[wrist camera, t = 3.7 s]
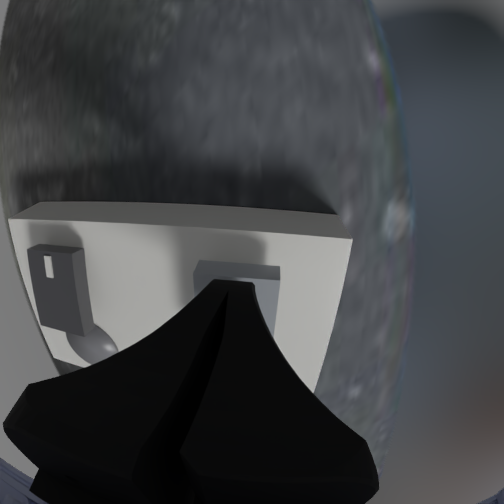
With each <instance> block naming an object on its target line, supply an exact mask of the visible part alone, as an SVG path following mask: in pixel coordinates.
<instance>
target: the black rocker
mask: <svg viewBox="0 0 504 504" xmlns="http://www.w3.org/2000/svg"><path fill="white" fill-rule="evenodd" d="M27 255H28V263H29V270H30V276H31V282H32V287H33V293H34V298H35V302H36V307H37V311H38V316H39V320H40V324H41V325H42V326H46V327H49V328H52V329H56V330H60V331H63V332H67V333H71V334H74V335H78V336H82V337H85V336H86V335H87V334H88V333H89V332H90V331H91V330H93V329H94V328H95V326H94V321H93V315H92V309H91V302H90V296H89V288H88V281H87V272H86V263H85V252H84V248H79V247H68V246H58V245H47V244H37V245H35V246H33V247H30V248H28V249H27Z"/></svg>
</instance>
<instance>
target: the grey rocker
mask: <svg viewBox="0 0 504 504" xmlns="http://www.w3.org/2000/svg"><path fill="white" fill-rule="evenodd" d="M213 279H222V280H233V281H245V282H253V284H254V285H255V292H256V297H257V300H258V304H259V307H260V310H261V312H262V315H263V317H264V319H265V322H266V324H267V326H268V328H269V331H270V333H271V334H272V336H273V338H274V330H275V322H276V314H277V306H278V297H279V289H280V266H272V265H259V264H246V263H233V262H221V261H208V260H199V262H198V264H197V266H196V268H195V270H194V272H193V283H194V297H195V296H197V295H198V294H199V293H200V292H201V291H202V290H203V289H204V288H205V287H206V286H207V285H208V284H209V283H210V282H211V281H212V280H213Z"/></svg>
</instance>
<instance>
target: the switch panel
mask: <svg viewBox="0 0 504 504" xmlns="http://www.w3.org/2000/svg"><path fill="white" fill-rule="evenodd" d="M8 221H9V225H10V230H11V235H12V239H13V243H14V247H15V251H16V255H17V259H18V263H19V266H20V270H21V273H22V276H23V280H24V283H25V286H26V289H27V292H28V295H29V298H30V301H31V304H32V307H33V309H34V312H35V315H36V317H37V320H38V322H39V325H40V327H41V330H42V332H43V335H44V337H45V339H46V342H47V344H48V346H49V348H50V351H51V353H52V355H53V357H54V358H56V359H59V360H62V361H65V362H68V363H71V364H74V365H78V366H81V367H84V368H85V367H88V366H90V365H92V364H95V363H97V362H99V361H102V360H104V359H106V358H108V357H110V356H112V355H114V354H116V353H118V352H120V351H122V350H124V349H126V348H128V347H129V346H131V345H133V344H135V343H136V342H138V341H140V340H141V339H143V338H144V337H146V336H148V335H149V334H151V333H152V332H154V331H155V330H156V329H158V328H159V327H160V326H162V325H163V324H164V323H165V322H167V321H168V320H169V319H170V318H172V317H173V316H174V315H176V314H177V313H178V312H179V311H180V310H181V309H182V308H184V307H185V306H186V305H187V304H188V303H189V302H190V301H191V300H192V299H193V298H194V283H193V272H194V270H195V268H196V266H197V264H198V262H199V260H208V261H221V262H233V263H246V264H259V265H272V266H280V289H279V297H278V306H277V314H276V322H275V330H274V340H275V342H276V344H277V345H278V347H279V349H280V351H281V352H282V354H283V355H284V357H285V358H286V360H287V361H288V363H289V364H290V366H291V367H292V368H293V370H294V371H295V372H296V374H297V375H298V376H299V378H300V379H301V380H302V381H303V382H304V383H305V385H306V386H307V387H308V388H309V389H310V390H311V391H312V393H314V390H315V387H316V384H317V381H318V377H319V374H320V371H321V368H322V364H323V361H324V357H325V354H326V350H327V347H328V343H329V340H330V336H331V332H332V328H333V325H334V321H335V317H336V313H337V309H338V305H339V301H340V296H341V292H342V288H343V283H344V279H345V274H346V270H347V265H348V260H349V255H350V250H351V245H352V240H353V239H352V237H351V236H350V234H349V232H348V231H347V229H346V227H345V226H344V224H343V222H342V221H341V219H340V217H339V216H338V215H333V214H323V213H312V212H301V211H289V210H277V209H263V208H249V207H234V206H217V205H197V204H175V203H146V202H90V201H63V202H39V203H37V204H35V205H33V206H31V207H29V208H27V209H25V210H23V211H22V212H20V213H18V214H16V215H14V216H12V217H11V218H9V219H8ZM37 244H47V245H58V246H68V247H79V248H84V252H85V263H86V272H87V281H88V288H89V296H90V302H91V309H92V315H93V321H94V326H95V328H94V329H93V330H91V331H90V332H89V333H88V334H87V335H86V336H85V337H82V336H78V335H74V334H71V333H67V332H63V331H60V330H56V329H52V328H49V327H46V326H42V325H41V324H40V320H39V316H38V311H37V307H36V302H35V298H34V293H33V287H32V282H31V276H30V270H29V263H28V255H27V249H28V248H30V247H33V246H35V245H37Z"/></svg>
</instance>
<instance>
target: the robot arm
mask: <svg viewBox="0 0 504 504" xmlns="http://www.w3.org/2000/svg"><path fill="white" fill-rule="evenodd" d="M3 427H4V432H5V433H6V435H7V436H8V438H9V439H10V440H11V441H12V442H13V443H14V445H15V446H16V447H17V448H18V449H19V450H20V451H21V452H22V453H23V454H24V455H25V456H26V457H27V458H28V459H29V460H30V461H31V462H32V463H33V464H35V465H36V466H37V467H38V468H39V470H38V472H37V474H36V476H35V478H34V479H32V478H31V477H29V476H27V475H26V474H24V473H22V472H21V471H19V470H18V469H16V468H15V467H13V466H11V465H10V464H8V463H7V462H6V461H4V460H3V459H1V458H0V504H365V503H366V502H367V501H368V500H370V499H371V498H372V497H373V496H374V495H375V494H376V492H377V491H378V490H379V480H378V474H377V469H376V466H375V463H374V460H373V457H372V454H371V452H370V449H369V447H368V444H367V442H366V440H365V439H363V438H362V437H361V436H359V435H358V434H357V433H356V432H354V431H353V430H352V429H350V428H349V427H348V426H347V425H345V424H344V423H343V422H342V421H341V420H340V419H338V418H337V417H336V416H335V415H334V414H333V413H332V412H331V411H330V410H329V409H328V408H327V407H326V406H325V405H324V404H323V403H322V402H321V401H320V400H319V399H318V398H317V397H316V396H315V395H314V394H313V393H312V391H311V390H310V389H309V388H308V387H307V386H306V385H305V383H304V382H303V381H302V380H301V379H300V378H299V376H298V375H297V374H296V372H295V371H294V370H293V368H292V367H291V366H290V364H289V363H288V361H287V360H286V358H285V357H284V355H283V354H282V352H281V351H280V349H279V347H278V345H277V344H276V342H275V340H274V338H273V336H272V334H271V333H270V331H269V328H268V326H267V324H266V322H265V319H264V317H263V315H262V312H261V310H260V307H259V304H258V300H257V297H256V292H255V285H254V284H253V282H245V281H233V280H222V279H213V280H212V281H211V282H210V283H209V284H208V285H207V286H206V287H205V288H204V289H203V290H202V291H201V292H200V293H199V294H198V295H197V296H195V297H194V298H193V299H192V300H191V301H190V302H189V303H188V304H187V305H186V306H185V307H184V308H182V309H181V310H180V311H179V312H178V313H177V314H176V315H174V316H173V317H172V318H170V319H169V320H168V321H167V322H165V323H164V324H163V325H162V326H160V327H159V328H158V329H156V330H155V331H154V332H152V333H151V334H149V335H148V336H146V337H144V338H143V339H141V340H140V341H138V342H136V343H135V344H133V345H131V346H129V347H128V348H126V349H124V350H122V351H120V352H118V353H116V354H114V355H112V356H110V357H108V358H106V359H104V360H102V361H99V362H97V363H95V364H92V365H90V366H88V367H85V368H82V369H80V370H77V371H74V372H71V373H68V374H65V375H62V376H58V377H55V378H51V379H47V380H44V381H40V382H36V383H31V384H29V385H28V386H27V387H26V389H25V390H24V392H23V393H22V395H21V396H20V398H19V399H18V401H17V402H16V404H15V405H14V407H13V408H12V410H11V411H10V413H9V414H8V416H7V418H6V419H5V421H4V422H3ZM477 504H504V488H503V489H502V490H500V491H499V492H498V493H497V494H496V495H494V496H492V497H490V498H488V499H486V500H484V501H482V502H480V503H477Z"/></svg>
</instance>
